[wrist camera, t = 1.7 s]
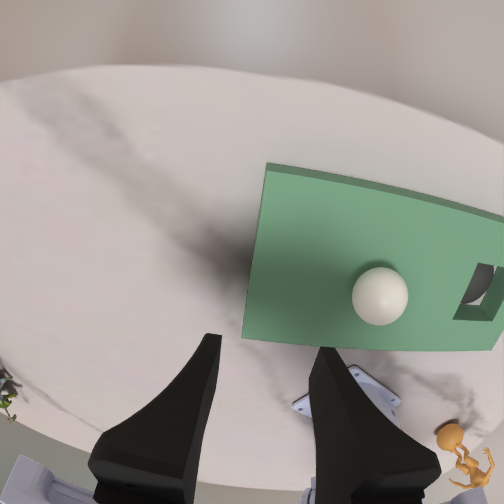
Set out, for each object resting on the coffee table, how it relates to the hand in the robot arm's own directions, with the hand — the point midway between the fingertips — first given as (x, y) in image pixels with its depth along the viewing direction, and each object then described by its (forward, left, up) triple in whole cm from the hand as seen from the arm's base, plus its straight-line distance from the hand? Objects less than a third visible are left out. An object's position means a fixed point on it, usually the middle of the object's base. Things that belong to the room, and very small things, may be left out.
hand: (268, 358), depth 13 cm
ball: (-6, -4, -6) cm, 9 cm away
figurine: (-37, +2, -11) cm, 39 cm away
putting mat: (-9, -6, -10) cm, 15 cm away
